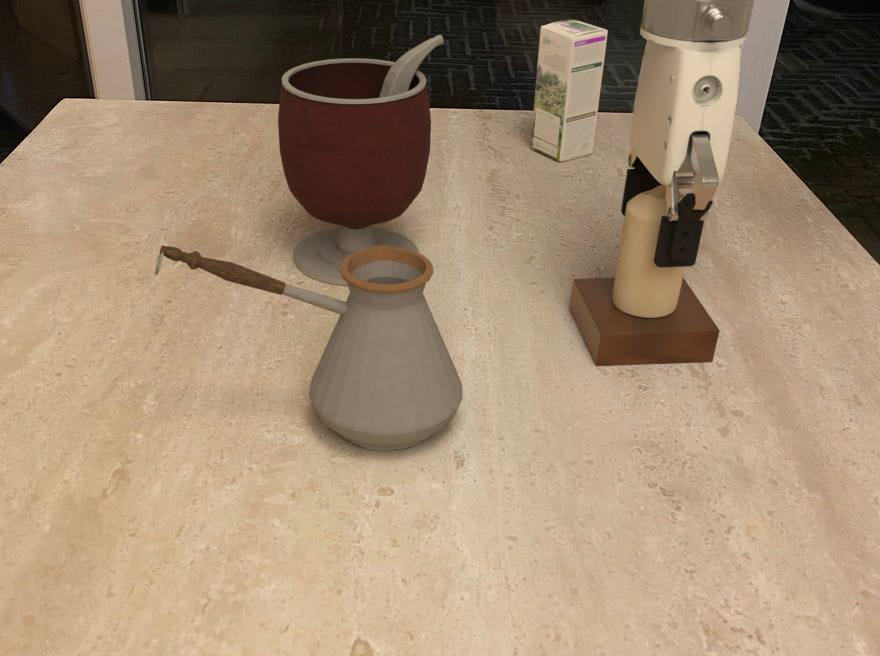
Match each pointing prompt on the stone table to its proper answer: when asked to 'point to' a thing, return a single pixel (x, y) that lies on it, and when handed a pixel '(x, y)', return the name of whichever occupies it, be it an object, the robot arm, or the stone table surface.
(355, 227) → the mate gourd
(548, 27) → the syrup box
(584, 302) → the walnut block
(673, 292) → the candle
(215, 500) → the stone table surface
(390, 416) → the coffee pot
